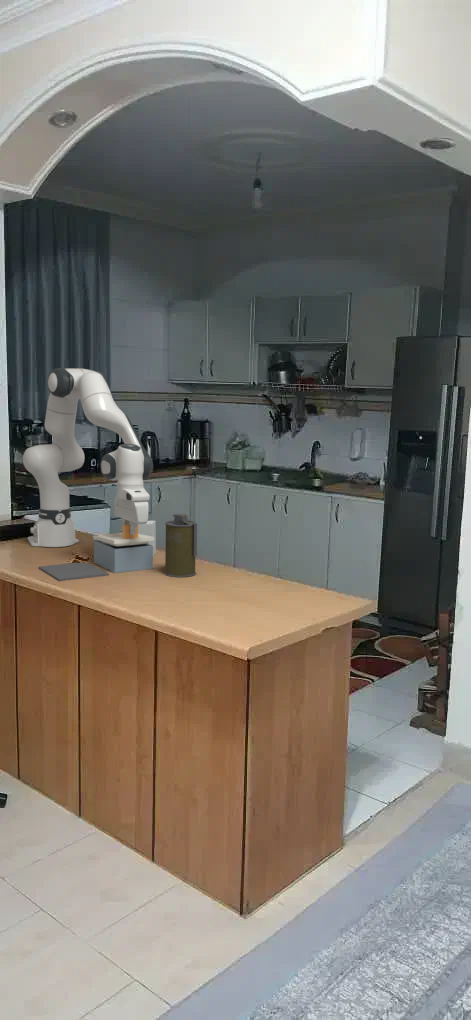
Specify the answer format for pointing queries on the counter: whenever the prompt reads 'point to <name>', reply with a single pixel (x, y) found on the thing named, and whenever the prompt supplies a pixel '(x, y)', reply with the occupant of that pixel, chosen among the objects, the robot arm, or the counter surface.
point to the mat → (73, 571)
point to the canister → (180, 547)
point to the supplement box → (149, 532)
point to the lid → (124, 537)
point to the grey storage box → (123, 557)
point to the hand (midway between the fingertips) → (130, 533)
